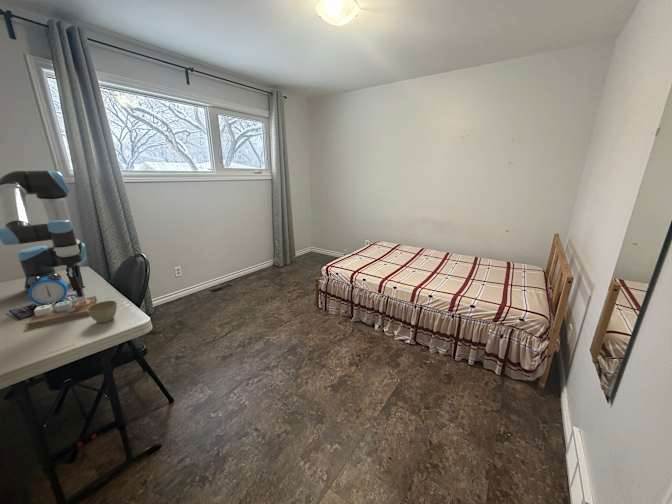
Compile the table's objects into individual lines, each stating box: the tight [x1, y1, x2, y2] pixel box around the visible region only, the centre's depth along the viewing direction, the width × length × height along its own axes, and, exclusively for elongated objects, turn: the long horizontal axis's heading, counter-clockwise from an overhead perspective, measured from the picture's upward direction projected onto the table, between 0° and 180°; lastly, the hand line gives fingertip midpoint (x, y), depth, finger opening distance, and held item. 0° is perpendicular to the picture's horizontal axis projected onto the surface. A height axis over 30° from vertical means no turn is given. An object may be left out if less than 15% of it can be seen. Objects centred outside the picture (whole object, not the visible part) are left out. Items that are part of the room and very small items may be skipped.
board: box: [26, 295, 98, 329], centre depth 124 cm, size 18×20×2 cm
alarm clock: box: [27, 272, 69, 306], centre depth 133 cm, size 13×6×15 cm, turn 132°
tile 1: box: [33, 304, 53, 316], centre depth 120 cm, size 5×5×3 cm
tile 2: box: [76, 300, 91, 308], centre depth 128 cm, size 5×5×3 cm
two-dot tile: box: [55, 299, 73, 312], centre depth 124 cm, size 5×5×3 cm
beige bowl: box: [87, 300, 118, 324], centre depth 117 cm, size 10×10×7 cm
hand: (83, 301), depth 127 cm, fingers closed
